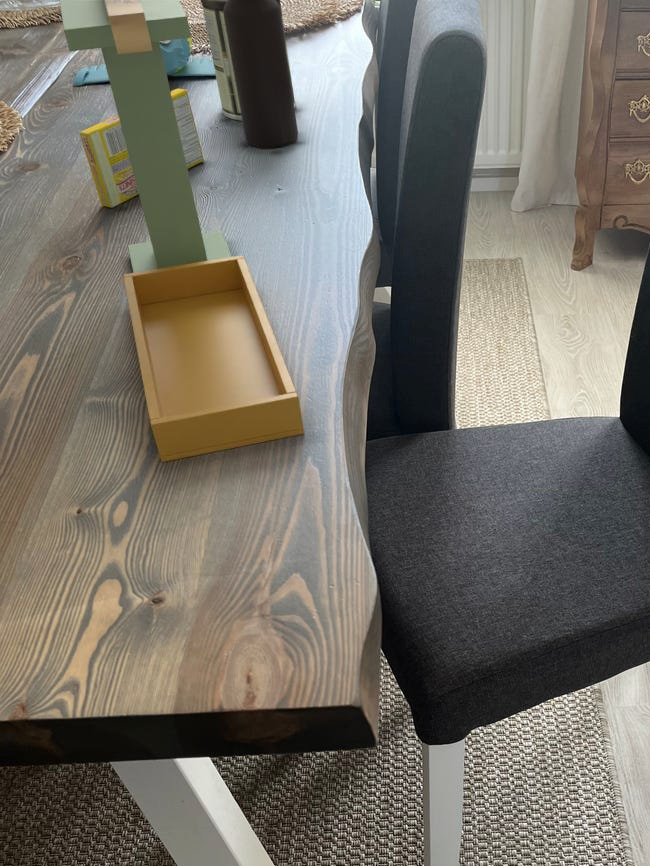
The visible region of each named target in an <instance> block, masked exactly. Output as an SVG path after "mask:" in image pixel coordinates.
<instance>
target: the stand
mask: <svg viewBox="0 0 650 866" xmlns="http://www.w3.org/2000/svg"><path fill="white" fill-rule="evenodd" d="M58 1H59V7H60V14H61V21H62V27H63V33H64V36H65V39H66V43H67V47H68V50H69V52H78V51H87V50H96V49H100V50H101V53H102V58H103V61H104V64H105V65H106V68H105V69H107V73H108V77H109V84H110V89H111V92H112V95H113V100H114V103H115V107H116V111H117V115H119V119H120V123H121V127H122V131H123V135H124V139H125V142H126V146H127V150H128V154H129V158H130V162H131V166H132V169H133V173H134V177H135V181H136V185H137V189H138V193H139V194H138V196H139V199H140V205H141V209H142V211H143V216H144V218H145V219H144V220H145V223H146V227H147V231H148V235H149V239H150V241H146V242H145V241H144V242H140V243H132V244H128V245H127V249H128V253H129V258H130V259H129V260H130V263H131V269H132V273H135V272H141V271H147V270H153V269H160V268H166V267H172V266H178V265H184V264H191V263H197V262H203V261H209V260H215V259H222V258H228V257H233V255H232V254H231V251H230V248H229V246H228V243H227V240H226V237H225V234H224V232H223V230H217V231H210V232H204V233H203V232H202V229H201V224H200V219H199V215H198V209H197V206H196V201H195V197H194V193H193V188H192V182H191V179H190V175H189V169H187V165H186V160H185V156H184V151H183V146H182V142H181V137H180V133H179V128H178V124H177V119H176V115H175V110H174V106H173V101H172V97H171V90H170V89H171V88H170V84H169V80H168V75H167V74H166V70H165V65H164V61H163V56H162V52H161V47H160V43H159V41H166V40H175V39H183V38H191V39H192V34H191V28H190V24H189V19H187V16H186V14H185V13H186V12H185V9H184V7H183V6H182V3H181V1H180V0H139V1H140V3H141V6H142V9H143V11H144V15H145V19H146V23H147V28H148V32H149V37H150V41H151V46H152V51H146V52H137V53H129V54H120V55H119V54H118V52H117V49H116V45H115V41H114V38H113V34H112V30H111V27H110V23H109V19H108V15H107V12H106V8H105V4H104V1H103V0H58Z"/></svg>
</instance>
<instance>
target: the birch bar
mask: <svg viewBox="0 0 650 866" xmlns="http://www.w3.org/2000/svg"><path fill="white" fill-rule="evenodd" d="M103 1H104V4H105V8H106V12H107V15H108V19H109V23H110V27H111V30H112V34H113V38H114V41H115V45H116V49H117V52H118V54H119V55H120V54H129V53H137V52H146V51H152V46H151V41H150V37H149V32H148V28H147V23H146V19H145V15H144V11H143V9H142V6H141V3H140V1H139V0H103Z"/></svg>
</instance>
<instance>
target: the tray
mask: <svg viewBox="0 0 650 866" xmlns="http://www.w3.org/2000/svg"><path fill="white" fill-rule="evenodd" d="M122 276H123V282H124V288H125V294H126V298H127V304H128V309H129V315H130V320H131V321H130V322H131V325H132V331H133V337H134V342H135V347H136V353H137V358H138V363H139V368H140V369H139V370H140V374H141V381H142V384H143V391H144V396H145V401H146V402H145V403H146V407H147V412H148V418H149V423H150V427H151V431H152V433H153V438H154V440H155V444H156V448H157V451H158V454H159V458H160V461H161V463H164V462H166V463H167V462H171V461H176V460H180V459H184V458H190V457H195V456H199V455H205V454H211V453H215V452H220V451H225V450H229V449H234V448H240V447H245V446H250V445H254V444H259V443H264V442H265V443H266V442H270V441H275V440H280V439H284V438H289V437H294V436H300V435H305V429H304V422H303V415H302V411H301V403H300V397H299V395H298V392H297V389H296V387H295V385H294V382H293V379H292V377H291V374H290V372H289V369H288V367H287V364H286V361H285V358H284V356H283V354H282V351H281V348H280V346H279V343H278V341H277V338H276V336H275V333H274V330H273V328H272V325H271V322H270V320H269V317H268V314H267V312H266V310H265V306H264V304H263V302H262V299H261V297H260V294H259V291H258V289H257V286H256V284H255V281H254V278H253V276H252V274H251V270H250V268H249V265H248V263H247V261H246V258H245V256H244V254H241V255H235V256H232V257H228V258H222V259H215V260H209V261H203V262H197V263H191V264H184V265H178V266H172V267H166V268H160V269H153V270H147V271H141V272H135V273H133V272H130V273H123V274H122Z"/></svg>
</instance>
